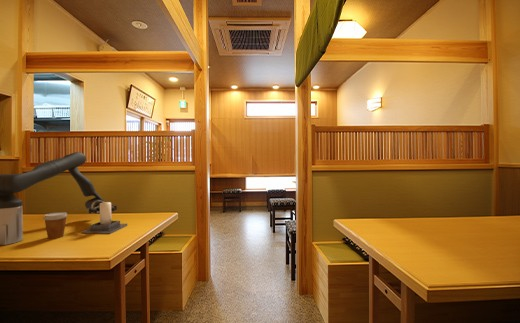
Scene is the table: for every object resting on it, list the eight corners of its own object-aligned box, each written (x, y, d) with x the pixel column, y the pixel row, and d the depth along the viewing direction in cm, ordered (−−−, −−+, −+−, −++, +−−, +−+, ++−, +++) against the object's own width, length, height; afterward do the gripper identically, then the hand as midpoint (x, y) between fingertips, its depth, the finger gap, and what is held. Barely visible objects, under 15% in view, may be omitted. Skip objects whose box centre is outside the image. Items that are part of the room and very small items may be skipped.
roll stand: (110, 233, 130) (110, 226, 130) (81, 233, 130) (81, 226, 130) (127, 225, 146) (127, 219, 146) (101, 225, 146) (101, 219, 146)
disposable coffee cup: (72, 234, 129) (72, 212, 129) (55, 240, 119) (55, 216, 119) (56, 233, 130) (56, 211, 130) (38, 239, 120) (38, 216, 120)
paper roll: (107, 228, 135) (107, 203, 135) (97, 228, 135) (97, 203, 135) (113, 225, 141) (113, 201, 141) (104, 225, 141) (104, 201, 141)
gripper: (85, 202, 146) (90, 206, 134) (112, 199, 156) (118, 202, 144) (85, 214, 146) (90, 219, 134) (112, 210, 156) (118, 215, 144)
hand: (105, 210), depth 139 cm, fingers open, 8 cm apart
